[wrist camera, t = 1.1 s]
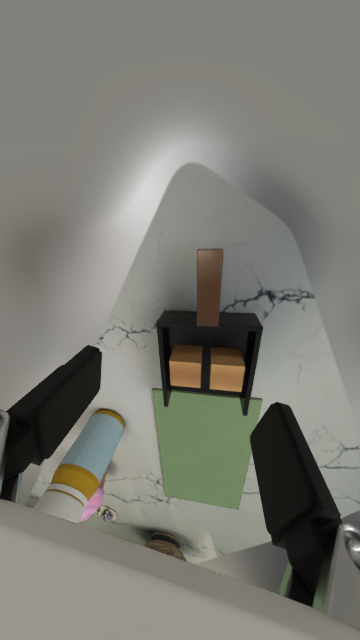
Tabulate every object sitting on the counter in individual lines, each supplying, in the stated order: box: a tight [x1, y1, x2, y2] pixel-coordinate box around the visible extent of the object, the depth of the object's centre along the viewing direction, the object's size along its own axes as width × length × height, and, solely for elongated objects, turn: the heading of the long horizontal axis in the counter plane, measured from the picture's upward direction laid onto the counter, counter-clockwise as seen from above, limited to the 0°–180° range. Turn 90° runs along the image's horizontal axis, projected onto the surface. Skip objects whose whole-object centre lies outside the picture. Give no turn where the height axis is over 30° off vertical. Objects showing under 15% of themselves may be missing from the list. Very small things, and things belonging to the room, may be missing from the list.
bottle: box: [34, 410, 125, 524], centre depth 30 cm, size 7×7×15 cm
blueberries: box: [97, 506, 117, 522], centre depth 55 cm, size 7×8×2 cm
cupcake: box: [80, 465, 109, 521], centre depth 40 cm, size 9×9×10 cm
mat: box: [152, 388, 262, 510], centre depth 37 cm, size 36×18×1 cm, turn 1°
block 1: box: [169, 345, 202, 388], centre depth 25 cm, size 4×4×4 cm
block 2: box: [210, 347, 245, 392], centre depth 24 cm, size 4×4×4 cm
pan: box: [157, 248, 263, 416], centre depth 23 cm, size 22×12×4 cm, turn 1°
